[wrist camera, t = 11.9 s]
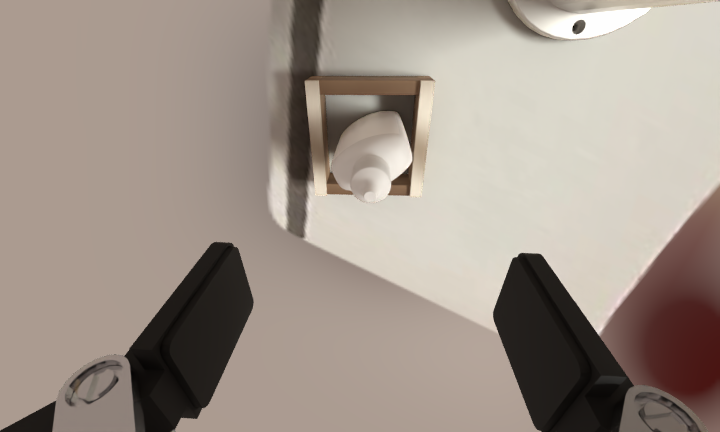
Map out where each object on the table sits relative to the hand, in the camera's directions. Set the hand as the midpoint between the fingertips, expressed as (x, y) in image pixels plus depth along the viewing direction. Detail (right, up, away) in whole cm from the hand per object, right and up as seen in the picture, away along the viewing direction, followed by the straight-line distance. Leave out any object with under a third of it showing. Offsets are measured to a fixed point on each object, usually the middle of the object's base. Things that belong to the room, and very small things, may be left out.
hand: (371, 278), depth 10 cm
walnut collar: (0, +9, +16) cm, 19 cm away
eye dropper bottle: (+1, +10, +16) cm, 19 cm away
